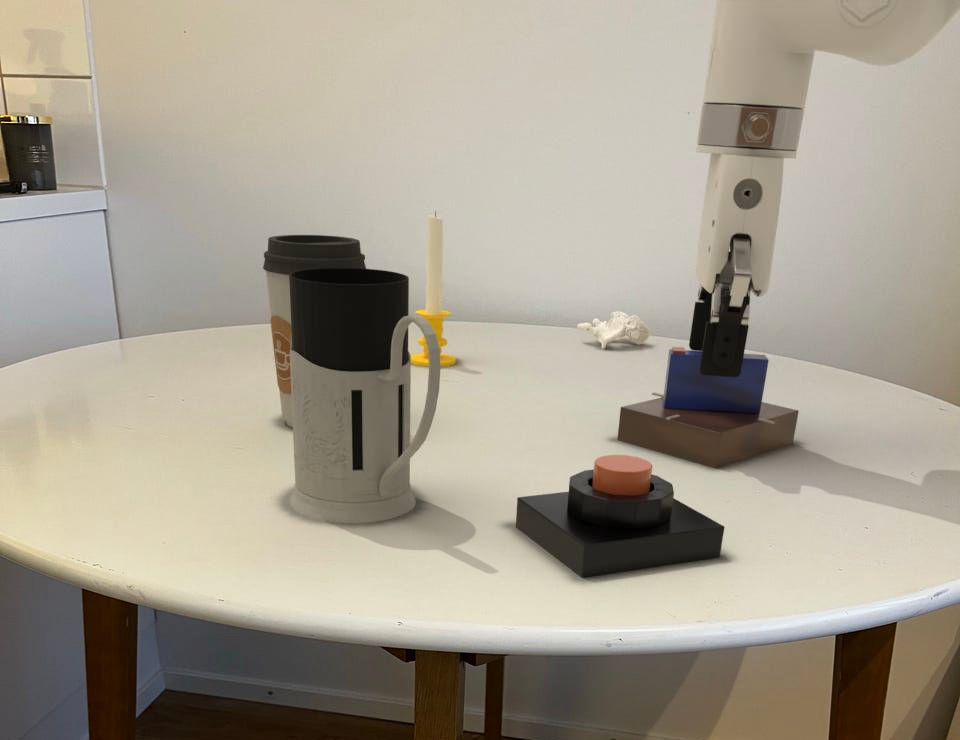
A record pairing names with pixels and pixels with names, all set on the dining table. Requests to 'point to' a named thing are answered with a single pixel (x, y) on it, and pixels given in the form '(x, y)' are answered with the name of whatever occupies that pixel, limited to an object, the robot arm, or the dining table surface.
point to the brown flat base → (706, 431)
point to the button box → (617, 528)
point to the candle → (434, 294)
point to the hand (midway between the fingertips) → (712, 362)
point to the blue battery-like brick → (713, 384)
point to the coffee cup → (278, 264)
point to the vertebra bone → (617, 328)
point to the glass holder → (354, 393)
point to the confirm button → (622, 475)
